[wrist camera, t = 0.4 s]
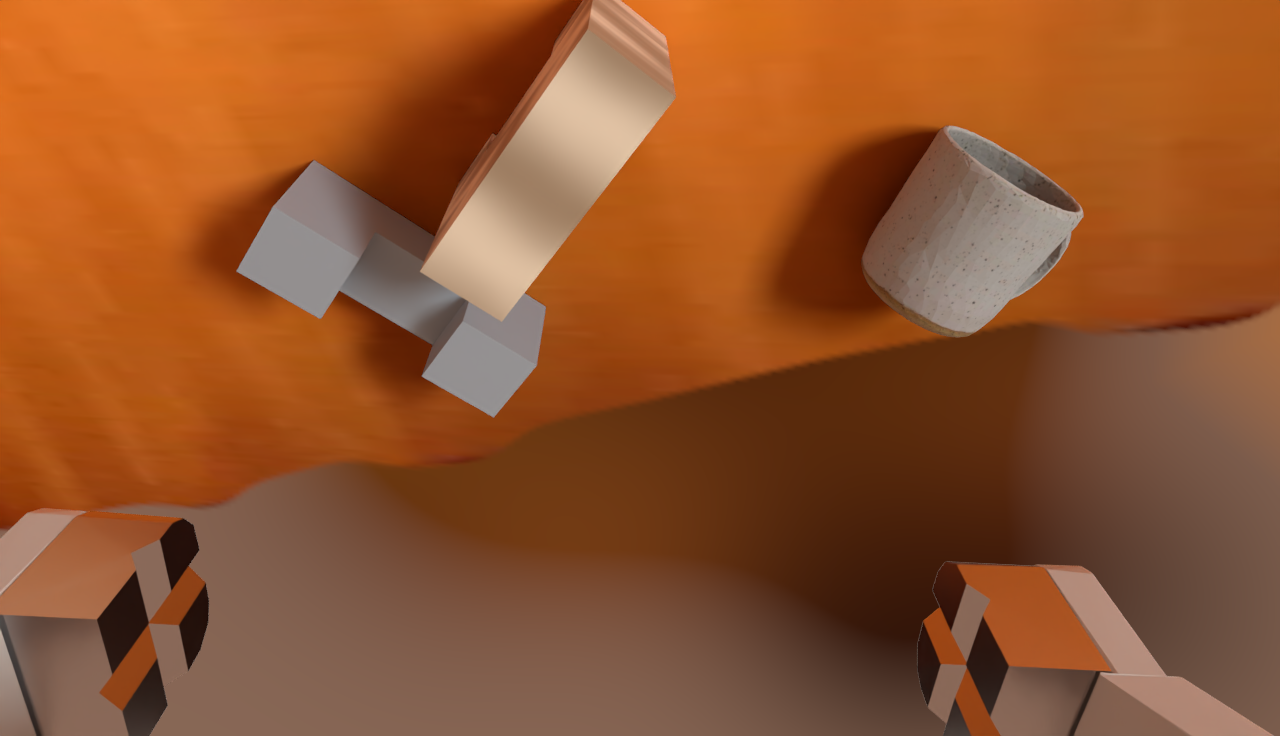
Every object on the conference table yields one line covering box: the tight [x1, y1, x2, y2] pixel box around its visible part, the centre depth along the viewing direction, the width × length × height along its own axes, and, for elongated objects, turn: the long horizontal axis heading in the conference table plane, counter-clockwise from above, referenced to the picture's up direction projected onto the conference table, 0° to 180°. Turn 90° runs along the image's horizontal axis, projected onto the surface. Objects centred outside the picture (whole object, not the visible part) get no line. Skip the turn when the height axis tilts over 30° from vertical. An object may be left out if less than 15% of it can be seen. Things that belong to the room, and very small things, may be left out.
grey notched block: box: [237, 160, 546, 417], centre depth 44 cm, size 14×4×6 cm, turn 53°
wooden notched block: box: [420, 0, 676, 322], centre depth 38 cm, size 12×4×10 cm, turn 143°
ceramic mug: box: [861, 126, 1083, 337], centre depth 43 cm, size 11×8×8 cm
